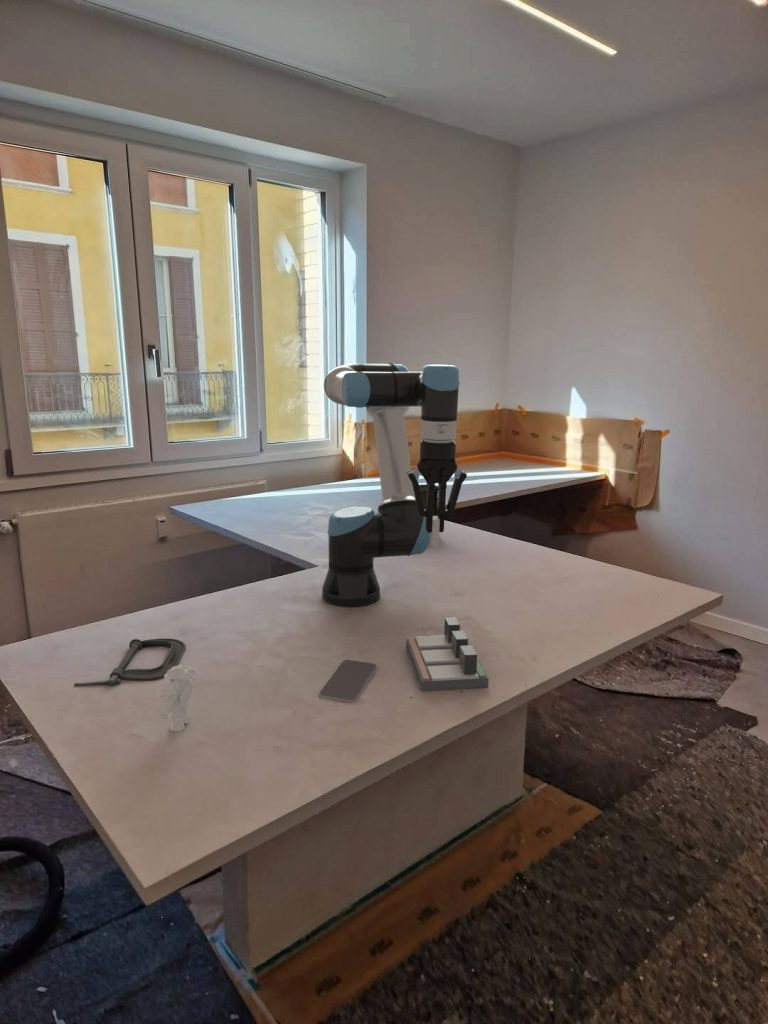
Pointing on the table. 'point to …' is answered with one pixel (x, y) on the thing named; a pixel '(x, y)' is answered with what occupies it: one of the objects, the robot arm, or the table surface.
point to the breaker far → (450, 627)
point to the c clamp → (144, 674)
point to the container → (424, 493)
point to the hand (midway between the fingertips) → (434, 545)
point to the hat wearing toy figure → (178, 695)
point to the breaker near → (468, 659)
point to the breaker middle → (458, 642)
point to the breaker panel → (441, 665)
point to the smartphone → (348, 681)
